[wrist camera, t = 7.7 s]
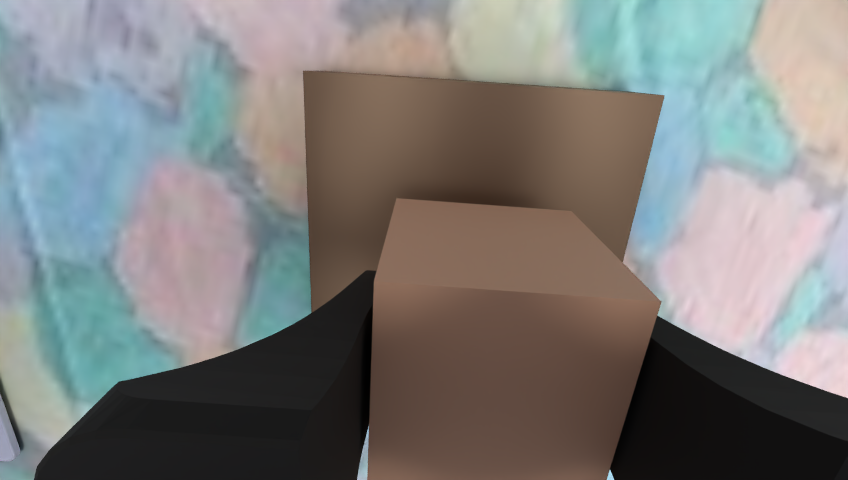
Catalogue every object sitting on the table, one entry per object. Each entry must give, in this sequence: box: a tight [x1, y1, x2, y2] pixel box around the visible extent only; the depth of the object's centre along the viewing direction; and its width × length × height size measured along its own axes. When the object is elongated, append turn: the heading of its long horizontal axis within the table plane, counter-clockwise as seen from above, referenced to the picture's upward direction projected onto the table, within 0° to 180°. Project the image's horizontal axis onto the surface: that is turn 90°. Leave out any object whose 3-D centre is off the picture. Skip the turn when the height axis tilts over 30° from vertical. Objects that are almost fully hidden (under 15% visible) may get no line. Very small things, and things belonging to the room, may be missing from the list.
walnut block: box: [303, 71, 664, 312], centre depth 17 cm, size 11×11×3 cm
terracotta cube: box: [367, 198, 661, 480], centre depth 10 cm, size 5×5×5 cm
